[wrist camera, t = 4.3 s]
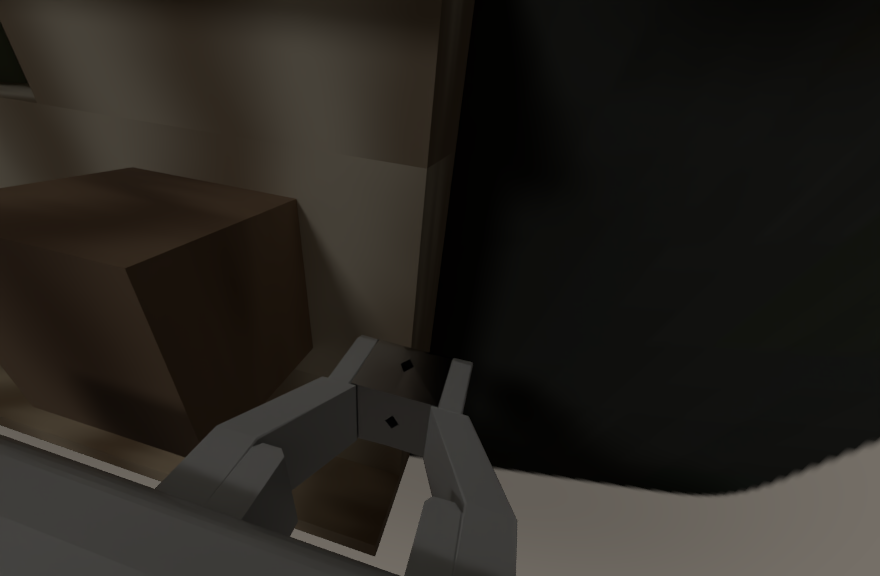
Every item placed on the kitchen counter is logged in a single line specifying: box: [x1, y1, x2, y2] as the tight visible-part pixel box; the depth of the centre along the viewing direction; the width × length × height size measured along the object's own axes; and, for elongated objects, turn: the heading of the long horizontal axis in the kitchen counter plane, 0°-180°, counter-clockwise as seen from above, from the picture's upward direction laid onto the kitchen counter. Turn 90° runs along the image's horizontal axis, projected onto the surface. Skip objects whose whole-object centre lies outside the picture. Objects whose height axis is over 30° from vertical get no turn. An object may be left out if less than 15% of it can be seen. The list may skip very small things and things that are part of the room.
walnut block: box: [0, 167, 313, 457], centre depth 10 cm, size 6×6×5 cm
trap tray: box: [0, 0, 475, 556], centre depth 13 cm, size 28×22×7 cm
